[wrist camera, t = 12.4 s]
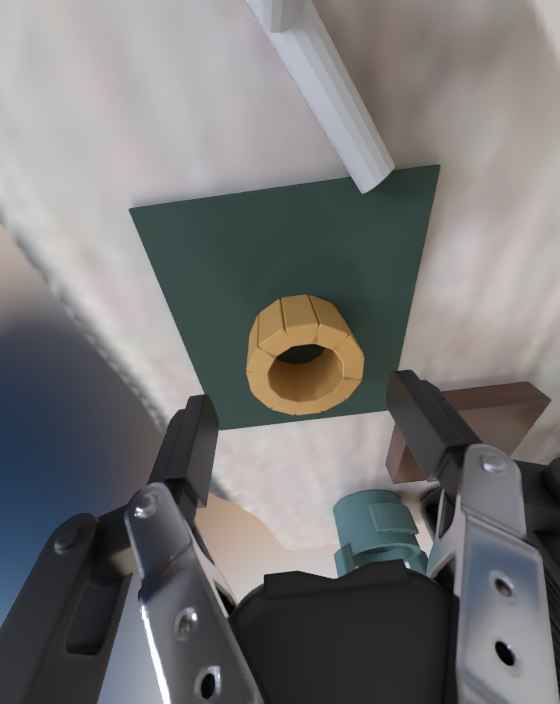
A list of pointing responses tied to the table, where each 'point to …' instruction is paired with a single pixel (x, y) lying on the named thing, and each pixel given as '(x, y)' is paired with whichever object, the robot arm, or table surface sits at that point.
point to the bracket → (375, 532)
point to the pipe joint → (325, 86)
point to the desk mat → (290, 277)
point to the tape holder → (478, 422)
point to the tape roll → (307, 378)
